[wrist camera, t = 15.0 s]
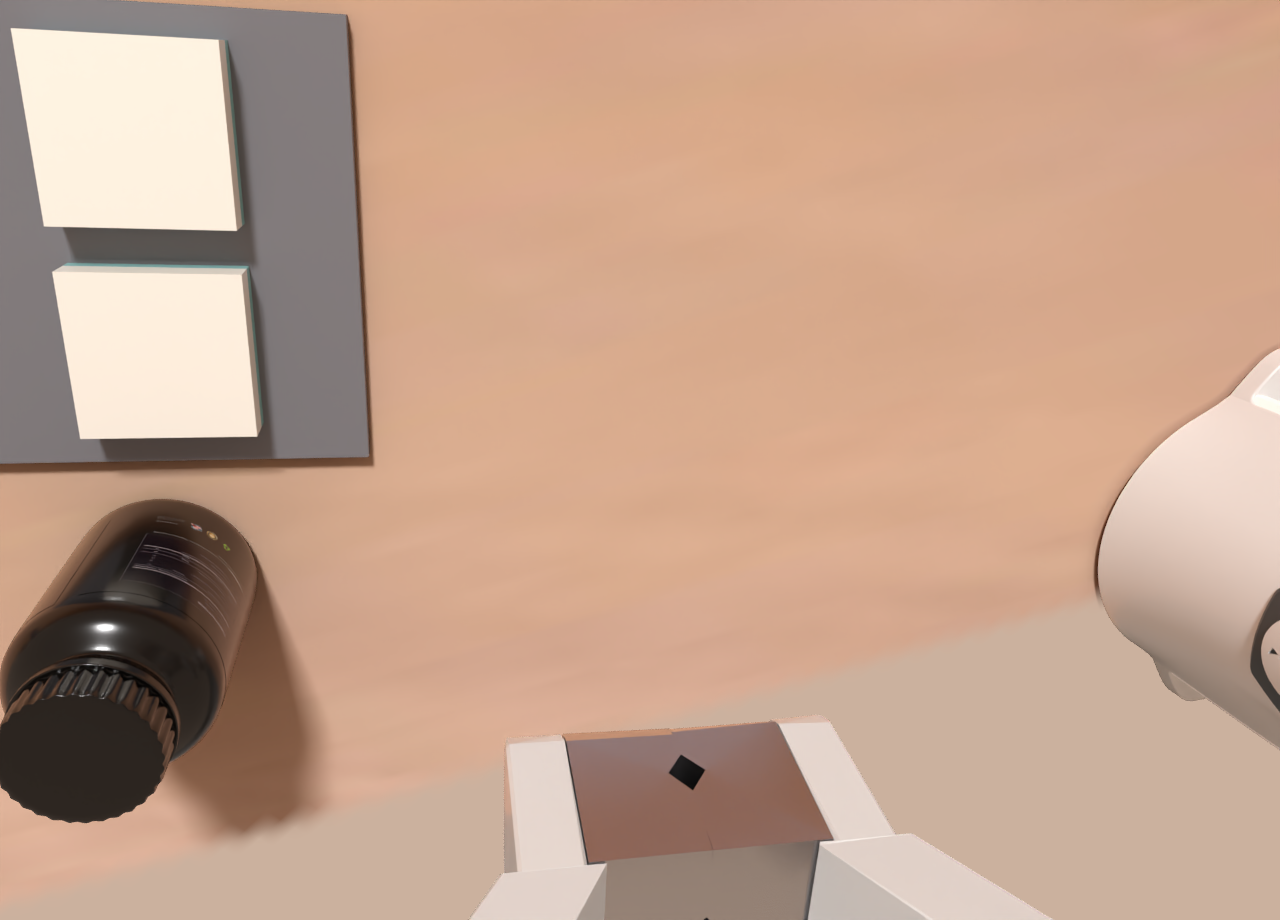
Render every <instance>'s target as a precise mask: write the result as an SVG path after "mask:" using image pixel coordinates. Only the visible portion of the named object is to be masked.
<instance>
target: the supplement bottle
mask: <svg viewBox="0 0 1280 920" xmlns="http://www.w3.org/2000/svg"><path fill="white" fill-rule="evenodd" d="M256 587H257V570H256V565H255V561H254V558H253V555H252V552H251V550H250V548H249V546H248V544H247V543H246V541H245V539H244V538H243V537H242V535H241V534H240V533H239V532H238V531H237V530H236V528H234V527H233V526H232V525H231V524H230V523H229V522H228V521H226V520H225V519H224V518H222V517H221V516H219V515H218V514H216V513H214V512H212V511H210V510H209V509H206V508H204V507H202V506H199V505H196V504H193V503H189V502H185V501H179V500H171V499H153V500H145V501H139V502H135V503H132V504H129V505H126V506H123V507H121V508H119V509H117V510H115V511H113V512H111V513H109V514H108V515H106V516H105V517H103V518H102V519H101V520H99V521H98V522H97V523H96V524H95V525H94V526H93V527H92V528H91V529H90V530H89V532H88V533H87V534H86V535H85V536H84V538H83V539H82V541H81V542H80V543H79V545H78V546H77V547H76V549H75V550H74V552H73V553H72V554H71V556H70V557H69V559H68V560H67V562H66V563H65V565H64V566H63V567H62V569H61V570H60V572H59V573H58V575H57V576H56V578H55V579H54V580H53V582H52V583H51V585H50V586H49V588H48V589H47V591H46V592H45V593H44V595H43V596H42V598H41V599H40V601H39V602H38V604H37V605H36V606H35V608H34V609H33V611H32V612H31V614H30V615H29V617H28V618H27V619H26V621H25V622H24V624H23V625H22V627H21V628H20V630H19V631H18V633H17V634H16V636H15V637H14V639H13V640H12V642H11V644H10V646H9V648H8V650H7V652H6V654H5V656H4V658H3V661H2V664H1V669H0V699H1V704H2V707H3V710H4V713H5V716H4V718H3V720H2V723H1V724H0V785H1V788H2V789H4V790H5V791H7V792H8V794H9V796H10V798H11V799H13V800H15V801H17V802H19V803H20V805H21V806H22V807H23V808H26V809H29V810H32V811H33V812H34V813H35V814H37V815H41V816H46V817H48V818H50V819H52V820H63V821H65V822H68V823H72V822H82V823H89V822H92V821H104V820H106V819H108V818H115V817H119V816H120V815H122V814H123V813H125V812H130V811H133V810H134V808H135V807H136V806H138V805H140V804H143V803H144V802H145V801H146V799H147V798H148V796H150V795H151V794H153V793H154V792H155V790H156V789H157V786H158V784H159V783H160V782H161V781H162V779H163V777H164V775H165V772H166V769H167V766H168V764H169V763H171V762H173V761H175V760H176V759H178V758H180V757H181V756H183V755H184V754H186V753H187V752H188V751H190V750H191V749H192V748H194V747H195V746H196V745H197V744H198V743H199V742H200V741H201V740H202V739H203V738H204V737H205V735H206V734H207V733H208V731H209V730H210V729H211V727H212V726H213V724H214V722H215V720H216V718H217V716H218V714H219V711H220V709H221V706H222V704H223V701H224V698H225V694H226V691H227V688H228V685H229V681H230V678H231V675H232V671H233V668H234V665H235V662H236V658H237V655H238V652H239V648H240V645H241V642H242V639H243V635H244V632H245V629H246V625H247V622H248V619H249V616H250V612H251V609H252V605H253V601H254V597H255V593H256Z"/></svg>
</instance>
